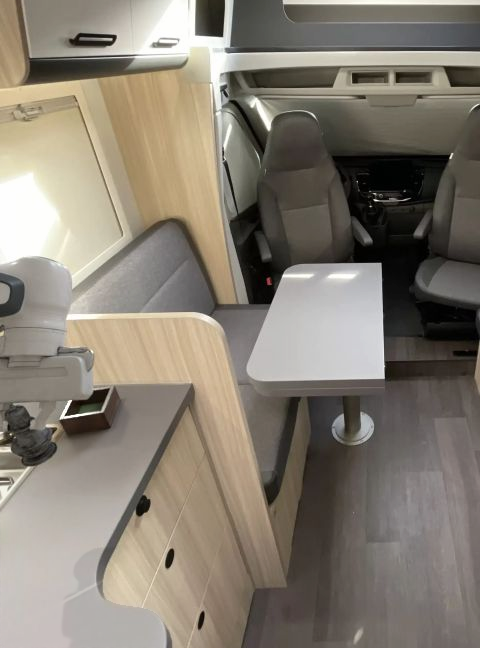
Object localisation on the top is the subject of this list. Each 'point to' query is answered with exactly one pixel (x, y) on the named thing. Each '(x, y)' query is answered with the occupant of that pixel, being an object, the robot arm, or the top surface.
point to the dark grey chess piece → (29, 438)
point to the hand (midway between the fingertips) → (21, 430)
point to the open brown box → (91, 411)
